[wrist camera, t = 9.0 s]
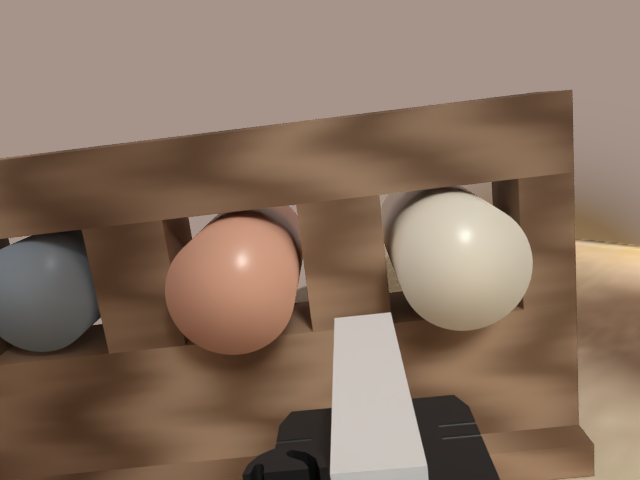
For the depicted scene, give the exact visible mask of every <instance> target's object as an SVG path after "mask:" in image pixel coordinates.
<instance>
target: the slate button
mask: <svg viewBox="0 0 640 480" xmlns="http://www.w3.org/2000/svg"><path fill="white" fill-rule="evenodd" d="M99 318H101V315H100V310H99V306H98V301H97V297H96V292H95V288H94V283H93V279H92V274H91V270H90V265H89V260H88V256H87V251H86V247H85V242H84V238H83V233H82V230H73V231H64V232H56V233H47V234H39V235H32V236H30V237H27V238H25V239H23V240H20V241H18V242H16V243H13V244H11V245H9V246H7V247H5V248H3V249H0V337H1V338H3V339H4V340H5V341H7V342H9V343H10V344H12V345H14V346H16V347H19V348H22V349H25V350H29V351H34V352H49V351H55V350H58V349H62V348H64V347H66V346H68V345H70V344H71V343H73V342H74V341H75V340H76V339H78V338H79V337H80V336H81V335H82V334H83V333H84V332H85V331H86V330H87V329H89V328H90V327H91V326H92V325H93V324H94V323H95V322H96V321H97V320H98V319H99Z"/></svg>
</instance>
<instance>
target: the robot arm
mask: <svg viewBox="0 0 640 480" xmlns="http://www.w3.org/2000/svg"><path fill="white" fill-rule="evenodd" d="M276 441H277V444H276V446H275V449H272V450H269V451H267V452H265V453H263V454H261V455H259V456H257V457H256V458H255V459H254V460H252V461H251V462H250V463H249V464H248V465H247V467H246V469H245V470H244V472H243V474H242V477H243V480H500V478H499V476H498V473H497V471H496V469H495V466H494V464H493V462H492V459H491V457H490V455H489V452H488V450H487V448H486V445H485V443H484V440H483V438H482V436H481V434H480V431H479V429H478V426H477V424H476V423H475V419H474V417H473V414H472V412H471V410H470V407H469V406H468V405H467V404H465V403H464V402H463V401H462V400H460V399H459V398H458V397H456V396H455V395H445V396H434V397H423V398H413V399H411V395H410V391H409V387H408V383H407V379H406V374H405V370H404V366H403V362H402V358H401V353H400V349H399V345H398V341H397V337H396V333H395V328H394V324H393V320H392V316H391V312H389V313H379V314H370V315H360V316H350V317H340V318H335V319H334V353H333V388H332V408H324V409H313V410H302V411H292V412H290V414H289V415H288V416H287V417H286V418H285V419H284V421H283V422H282V423H281V424H280V425H279V430H278V435H277V440H276Z"/></svg>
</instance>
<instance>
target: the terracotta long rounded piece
mask: <svg viewBox="0 0 640 480" xmlns="http://www.w3.org/2000/svg"><path fill="white" fill-rule="evenodd" d="M302 260H303V252H302V245H301V237H300V230H299V222H298V216H297V214H296V213H295V212H294V211H293V210H292V208H290V207H289V206H279V207H270V208H262V209H253V210H245V211H236V212H228V213H219V214H218V215H217V216H216V217H215V218H214V219H213V220H212V221H210V222H209V223H208V224H207V225H206V226H205V227H204V228H203V229H202V230H201V231H200V232H199V233H198V234H197V235H196V236H195V237H194V238H193V239H192V240H191V241H190V242H189V243H188V244H187V245H186V246H184V247H183V248H182V249H181V251H180V252H179V253H178V254H177V255H176V257H175V258H174V260H173V261H172V263H171V265H170V268H169V270H168V273H167V276H166V282H165V299H166V304H167V308H168V311H169V313H170V316H171V318H172V320H173V321H174V323H175V325H176V326H177V327H178V329H179V330H180V331H181V332H182V333H183V334H184V335H185V336H186V337H187V338H188V339H189V340H190V341H192V342H193V343H195V344H196V345H198V346H200V347H202V348H204V349H206V350H208V351H211V352H215V353H219V354H226V355H240V354H246V353H250V352H254V351H257V350H259V349H261V348H263V347H265V346H266V345H268V344H270V343H271V342H272V341H274V340H275V339H276V338H277V337H278V336H279V335H280V334H281V333H282V331H283V330H284V329H285V327H286V326H287V324H288V322H289V320H290V318H291V315H292V312H293V308H294V303H295V298H296V292H297V287H298V281H299V276H300V270H301V265H302Z"/></svg>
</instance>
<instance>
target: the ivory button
mask: <svg viewBox="0 0 640 480" xmlns="http://www.w3.org/2000/svg"><path fill="white" fill-rule="evenodd" d="M381 218H382V228H383V239H384V244H385V247H386V249H387V252H388V255H389V257H390V260H391V262H392V265H393V268H394V270H395V273H396V275H397V278H398V280H399V283H400V286H401V288H402V291H403V293H404V295H405V297H406V299H407V301H408V302H409V304H410V305H411V307H412V308H413V309H414V310H415V311H416V312H417V313H418V314H419V315H420V316H421V317H422V318H424V319H425V320H427V321H428V322H430V323H432V324H434V325H436V326H439V327H442V328H445V329H449V330H457V331H469V330H475V329H480V328H483V327H487V326H489V325H491V324H494V323H496V322H497V321H499V320H501V319H502V318H504V317H505V316H506V315H508V314H509V313H510V312H511V311H512V310H513V309H514V308H515V307H516V306H517V305H518V303H519V302H520V301H521V299H522V298H523V296H524V295H525V293H526V290H527V288H528V286H529V283H530V280H531V275H532V268H533V259H532V252H531V248H530V244H529V242H528V239H527V237H526V235H525V233H524V232H523V230H522V229H521V227H520V226H519V225H518V224H517V223H516V222H515V221H514V220H513V219H512V218H511V217H510V216H508V215H507V214H505V213H504V212H502V211H501V210H499V209H498V208H496V207H494V206H493V205H491V204H489V203H488V202H486V201H485V200H483V199H481V198H480V197H478V196H476V195H475V194H473V193H472V192H470V191H468V190H467V189H465V188H463V187H462V186H460V185H459V186H451V187H442V188H434V189H425V190H416V191H408V192H399V193H391V194H389V195H388V196H387V197H386V199H385V201H384V203H383V205H382V208H381Z"/></svg>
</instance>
